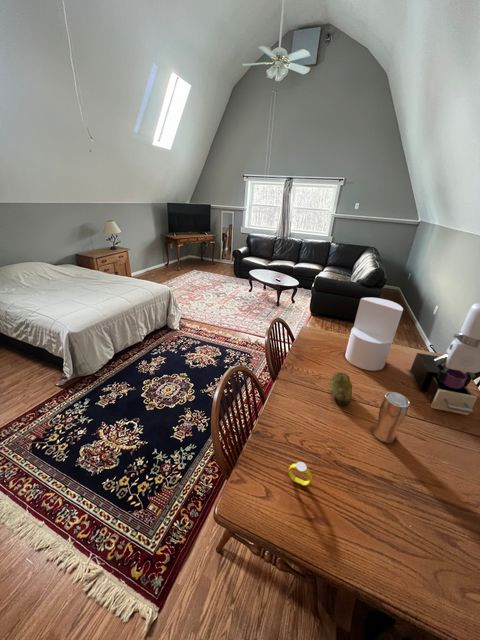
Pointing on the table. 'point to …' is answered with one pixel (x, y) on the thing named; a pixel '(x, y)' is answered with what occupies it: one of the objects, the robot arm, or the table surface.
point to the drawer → (449, 396)
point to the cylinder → (373, 333)
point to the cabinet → (424, 369)
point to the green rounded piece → (341, 388)
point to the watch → (300, 468)
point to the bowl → (455, 379)
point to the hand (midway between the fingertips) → (451, 381)
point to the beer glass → (390, 416)
